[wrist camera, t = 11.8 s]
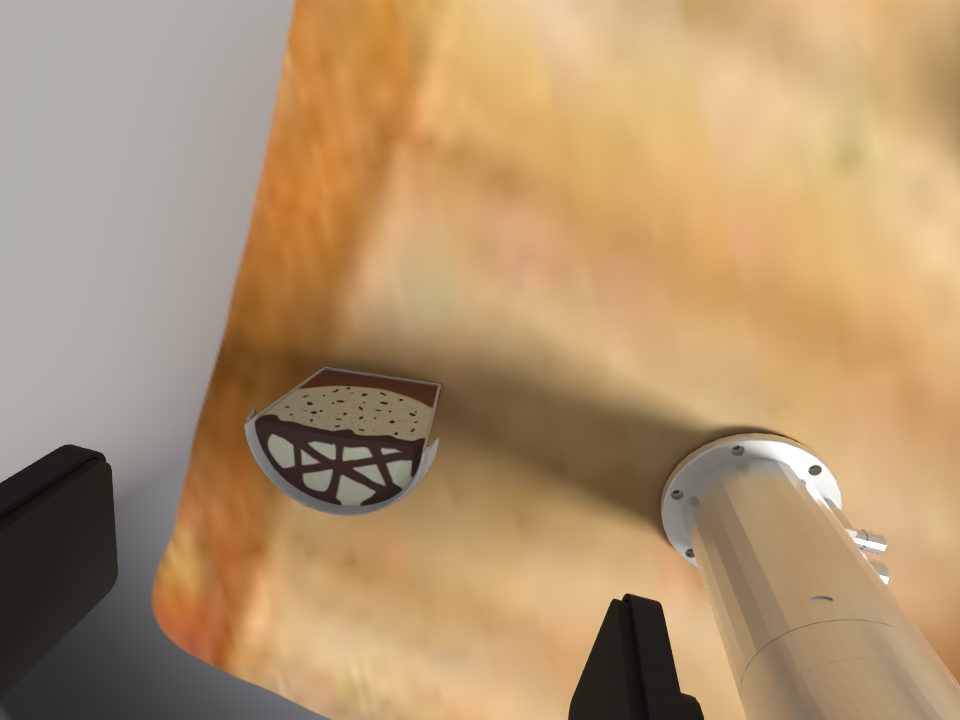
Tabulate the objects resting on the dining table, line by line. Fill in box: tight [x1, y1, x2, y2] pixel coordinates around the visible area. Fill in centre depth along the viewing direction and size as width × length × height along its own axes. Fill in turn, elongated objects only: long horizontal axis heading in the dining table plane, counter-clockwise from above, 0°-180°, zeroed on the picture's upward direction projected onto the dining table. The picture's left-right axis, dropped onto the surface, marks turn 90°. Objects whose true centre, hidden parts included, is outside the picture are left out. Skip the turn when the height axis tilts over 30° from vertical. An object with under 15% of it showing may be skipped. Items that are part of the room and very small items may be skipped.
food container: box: [244, 366, 442, 516], centre depth 39 cm, size 12×6×10 cm, turn 85°
